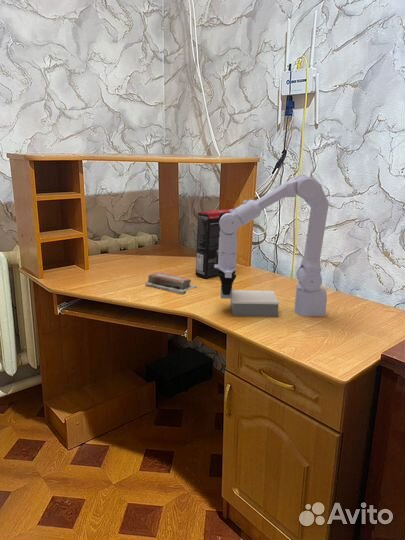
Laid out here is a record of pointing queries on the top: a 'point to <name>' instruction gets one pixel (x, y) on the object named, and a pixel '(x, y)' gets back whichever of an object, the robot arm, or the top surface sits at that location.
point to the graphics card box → (208, 242)
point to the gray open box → (254, 310)
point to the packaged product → (169, 283)
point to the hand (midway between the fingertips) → (226, 293)
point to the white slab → (251, 297)
